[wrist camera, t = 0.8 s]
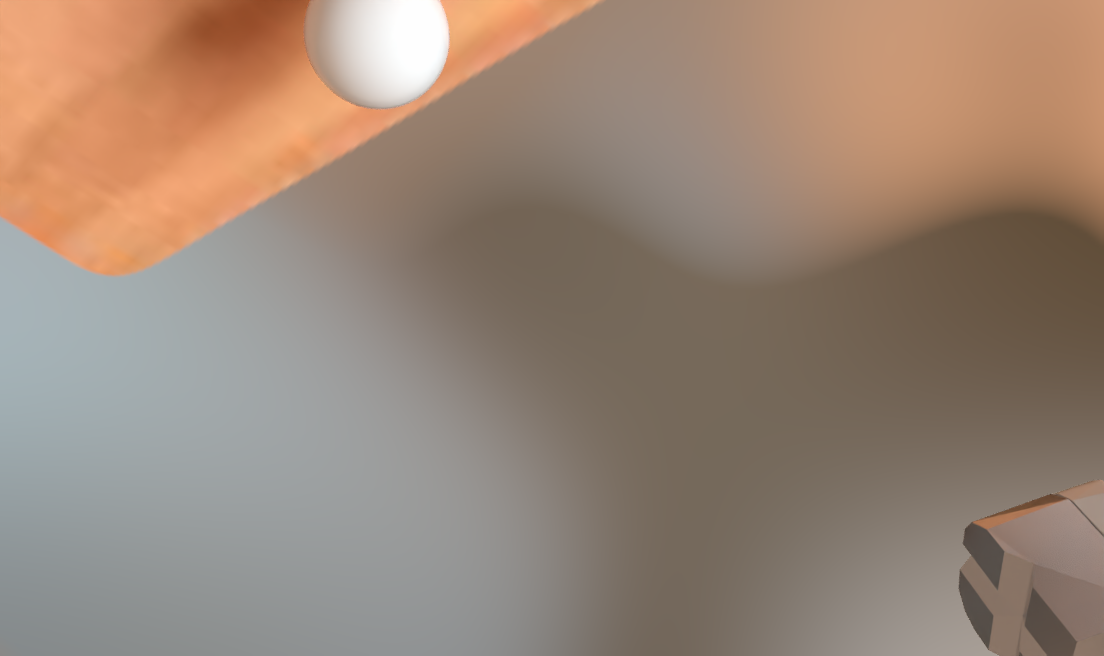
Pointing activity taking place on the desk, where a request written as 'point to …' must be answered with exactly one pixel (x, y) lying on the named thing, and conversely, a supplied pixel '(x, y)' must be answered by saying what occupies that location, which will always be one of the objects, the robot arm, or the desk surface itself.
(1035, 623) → the robot arm
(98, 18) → the desk surface
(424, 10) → the lightbulb
